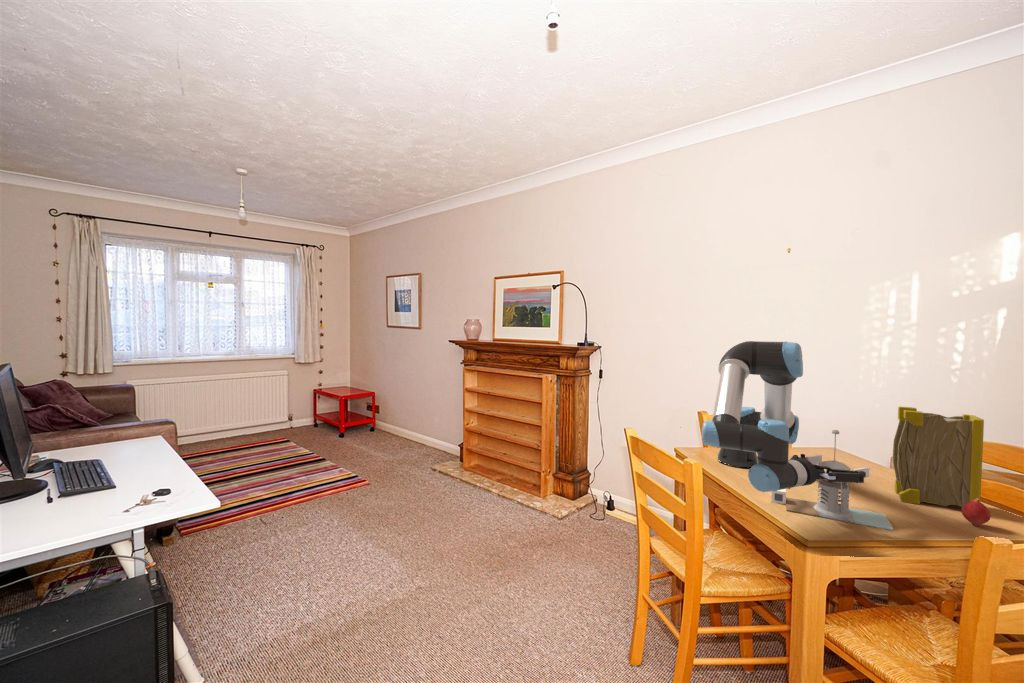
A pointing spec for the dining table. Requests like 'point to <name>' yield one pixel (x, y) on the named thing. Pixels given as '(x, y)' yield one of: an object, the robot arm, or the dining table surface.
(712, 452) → the dining table surface
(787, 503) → the tile walnut
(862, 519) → the tile teal
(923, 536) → the dining table surface
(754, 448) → the robot arm
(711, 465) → the dining table surface
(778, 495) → the letter cube
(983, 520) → the onion
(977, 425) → the decorative book
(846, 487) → the french press
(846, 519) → the tile slate
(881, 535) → the dining table surface
